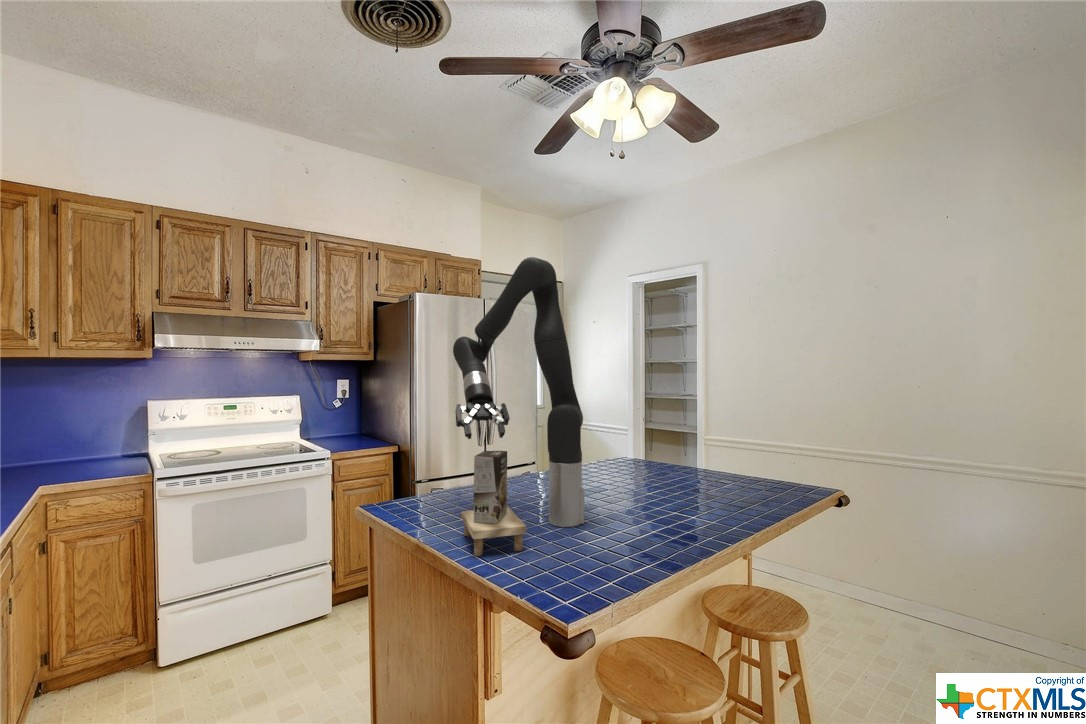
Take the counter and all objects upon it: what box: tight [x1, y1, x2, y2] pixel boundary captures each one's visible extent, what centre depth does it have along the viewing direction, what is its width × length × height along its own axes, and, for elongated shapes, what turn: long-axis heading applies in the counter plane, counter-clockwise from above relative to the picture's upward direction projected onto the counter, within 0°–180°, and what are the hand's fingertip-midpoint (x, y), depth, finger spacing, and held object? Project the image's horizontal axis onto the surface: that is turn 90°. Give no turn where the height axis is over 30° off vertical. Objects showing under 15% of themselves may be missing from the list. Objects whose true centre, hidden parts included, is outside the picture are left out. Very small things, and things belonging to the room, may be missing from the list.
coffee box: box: [473, 450, 508, 524], centre depth 125 cm, size 9×6×16 cm
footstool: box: [461, 506, 527, 557], centre depth 124 cm, size 13×17×6 cm
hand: (486, 436), depth 132 cm, fingers open, 8 cm apart
